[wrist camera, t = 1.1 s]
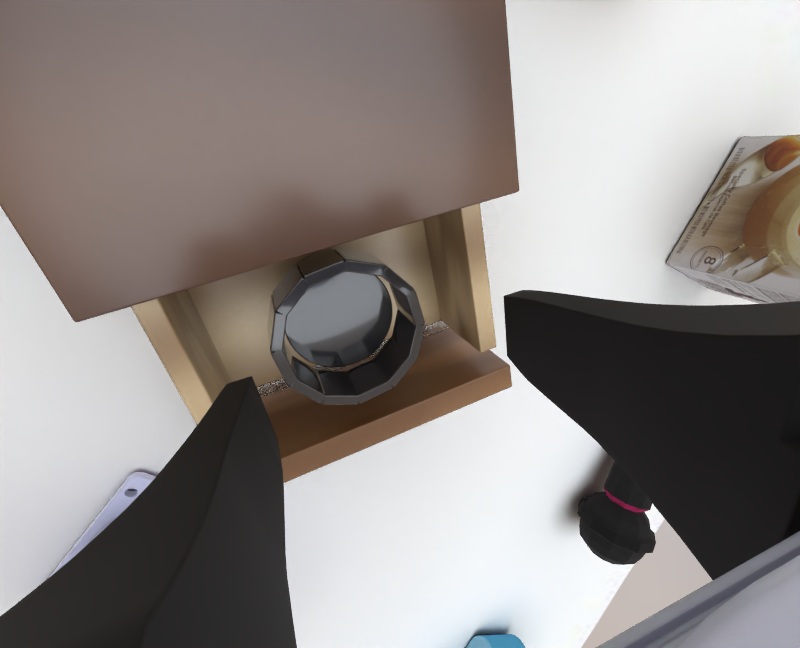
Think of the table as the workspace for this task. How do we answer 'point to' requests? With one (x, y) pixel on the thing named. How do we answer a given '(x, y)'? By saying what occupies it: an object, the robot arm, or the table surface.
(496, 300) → the table surface
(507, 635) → the data package
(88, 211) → the cabinet
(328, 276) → the dark grey hollow cylinder
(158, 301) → the drawer
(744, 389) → the robot arm
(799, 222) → the coffee box
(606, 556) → the microphone
